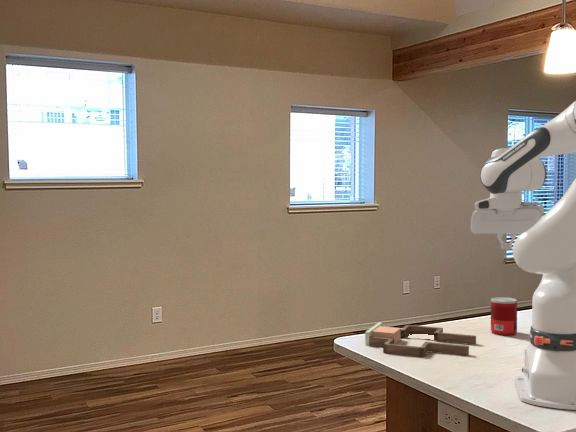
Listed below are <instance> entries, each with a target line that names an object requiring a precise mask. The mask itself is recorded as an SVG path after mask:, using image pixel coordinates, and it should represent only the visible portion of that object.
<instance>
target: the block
mask: <svg viewBox="0 0 576 432" xmlns="http://www.w3.org/2000/svg"><path fill="white" fill-rule="evenodd" d="M400 329H401V327H392V326H383V325H382V326H378V327H377V328H376V329H374V330H373V331H372V336H373V337H383V338H393V339H394V344H398V343H397V342H398V341H399V342H400V341H401V339H402V338H401V337H400Z"/></svg>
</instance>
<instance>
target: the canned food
mask: <svg viewBox="0 0 576 432" xmlns="http://www.w3.org/2000/svg"><path fill="white" fill-rule="evenodd" d="M490 331H491V333H492V334H493V335H496V336H501V335H503V336H506V337H509V336H511V337H512V336H514V335H515V336H516V334H517V331H518V300H517V299H516V298H514V297H513V298H512V297H502V296H498V297H497V296H496V297H492V298H490ZM503 336H502V337H503Z"/></svg>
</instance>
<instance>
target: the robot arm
mask: <svg viewBox="0 0 576 432" xmlns="http://www.w3.org/2000/svg"><path fill="white" fill-rule="evenodd" d="M575 153H576V100H575V101H573V102H572V103H571V104H569V106H567V108H565V109H564V110H563V111H561V112H560V113H559V114H558V115H556V116H555V117H554V118H553V119H551V120H549V121H548V122H546V123H545V124H543V125H541V126H540V127H537V129H534V130H533V131H532V132H530V133H528V134H527V135H525V136H524V137H522V138H521V139H520V140H519V141H517V142H516V143H514V144H513V145H512V146H504V147H500V148H497V149H495V150H493V151H492V153H491V157H490V158H488V159H487V160H486V162H484V164H483V165H482V167H481V168H480V173H479V178H480V182H481V184H482V186H483V187H484V188H485V189H486V190H487V191H488V192H489V193H490V194H489V197H488V198H484V199H481V200H478V201H475V203H474V208H475V210H474V211H473V212H472V215H471V218H470V231H471V233H472V234H474V235H486V234H487V235H496V237H497V240H498V241H499V243H500V245H501V246H500V249H501V250H512V255H513V260H514V262H515V263H516V265H517V266H518V267H519V269H521V270H522V271H524V272H527V273H529V274H531V273H532V274H537V275H542V277H541V280H540V282H539V284H538V286H537V288H536V289H535V290H534V292H533V294H532V299H531V300H532V301H531V302H532V305H531V306H532V307H531V308H532V310H531V311H532V312H531V314H532V316H531V317H532V319H531V320H532V321H531V326H530V329H529V330H530V331H529V345H527V346H526V347H525V348H524V351H523V352H524V353H523V355H524V357H523V358H524V359H523V362H524V363H523V367H522V368H521V372H522V374H523V375H518V376H515V379H514V382H515V386H516V388H517V392H518V397H519V400H520V401H521V402H523V403H526V404H528V405H529V404H530V405H534V406H538V407H544V408H550V409H559V410H560V409H561V410H570V411H571V410H573V411H576V178H574V180H573V182H572V183H571V184H570V186H569V187H568V189H567V190H566V191H565V193H564V194H563V195H562V197H561V198H560V199H559V200H558V201H557V202H556V203H555V204H554V205H553V206H552V207H551V208H550V209H549V210H548V211H547V212H546V213H545V207H544V205H543V204H542V203H539V202H538V201H533V202H529V201H526V202H525V201H523V199H522V193H523V192H532V191H533V192H534V191H538V190H540V189H541V188H542V187H543V186H544V184H545V183H546V181H547V174H548V173H547V169H546V165H545V163H544V161H542V160H541V158H544V157H545V158H546V157H550V156H556V155H557V156H558V155H567V154H568V155H569V154H575ZM504 235H509V237H510V238H511V239H510V241H509V242H504V240H503V239H502V238H503V237H504ZM517 235H518V236H517Z"/></svg>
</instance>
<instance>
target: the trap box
mask: <svg viewBox="0 0 576 432" xmlns="http://www.w3.org/2000/svg"><path fill="white" fill-rule="evenodd" d="M378 326H383V322H381V321H380V322H379V321H378V322H377V323H375V324H374V325H373V326H372V327H370V328H369V329H367V330H366V331H365V332H364V333H365V336H364V337H365V339H364V340H365V341H364V342H365V343H364V344H365V346H373V347H382V352H383V354H393V355H402V356H411V357H418V356H421V357H420V358H424V357H425V356H426V355H427V354H428V353H429V352H428V351H432V352H431V353H438V352H441V353H440V354H448V353H449V355H457V354H458V356H469V355H470V346H469V345H472V344H475V345H477V335H473V334H472V335H471V334H462V333H461V334H460V333H449V332H444V328H443V327H437V326H425V325H414V324H413V325H412V324H405V325H404V326H403V327H401V328H400V337H401V339H402V338H403V339H408V338H407V337H408V336H409V334H410V335H412V334H428V335H434V340H437V341H436V342H435V341H432V342H431V341H425V342H424V343H423V344H422V345H421V346H414V345H407V344H398V343H396V344H394V339H393V338H383V337H373V336H372V331H373V330H374V329H376V328H377V327H378ZM441 341H448V342H447V343H445V342H444V343H442V342H441ZM452 342H457V343H456V344H454V343H452ZM462 343H467V344H465V345H464V344H463V345H462ZM475 345H474V346H475ZM427 352H428V353H427ZM426 353H427V354H426Z"/></svg>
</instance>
